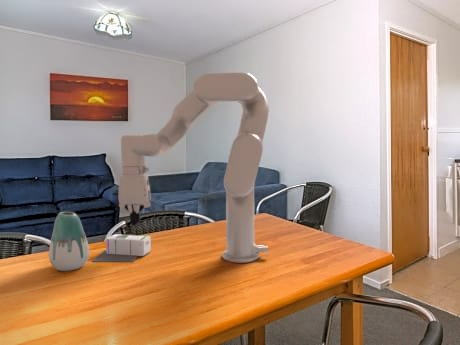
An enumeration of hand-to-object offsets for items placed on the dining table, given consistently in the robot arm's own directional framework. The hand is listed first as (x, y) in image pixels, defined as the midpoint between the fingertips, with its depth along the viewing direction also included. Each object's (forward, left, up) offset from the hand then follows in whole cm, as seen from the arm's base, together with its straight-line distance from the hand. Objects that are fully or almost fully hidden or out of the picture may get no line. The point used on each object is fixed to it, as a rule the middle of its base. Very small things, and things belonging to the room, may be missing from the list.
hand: (135, 223), depth 117 cm
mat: (+6, +1, -11) cm, 13 cm away
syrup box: (-4, 0, -8) cm, 9 cm away
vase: (+18, +11, -12) cm, 24 cm away
